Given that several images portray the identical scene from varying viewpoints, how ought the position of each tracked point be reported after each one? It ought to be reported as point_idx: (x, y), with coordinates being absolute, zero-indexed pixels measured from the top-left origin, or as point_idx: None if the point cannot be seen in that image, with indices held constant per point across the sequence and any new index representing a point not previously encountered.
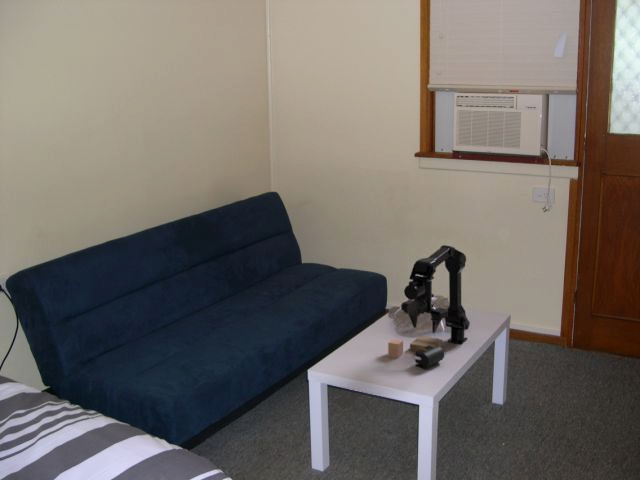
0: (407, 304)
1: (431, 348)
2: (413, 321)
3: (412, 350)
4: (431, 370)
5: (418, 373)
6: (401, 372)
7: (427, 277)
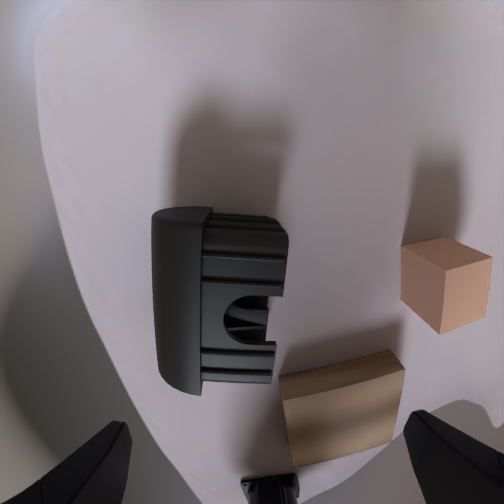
0: None
1: (219, 352)
2: (460, 459)
3: (380, 354)
4: None
5: (196, 142)
6: (284, 94)
7: None
